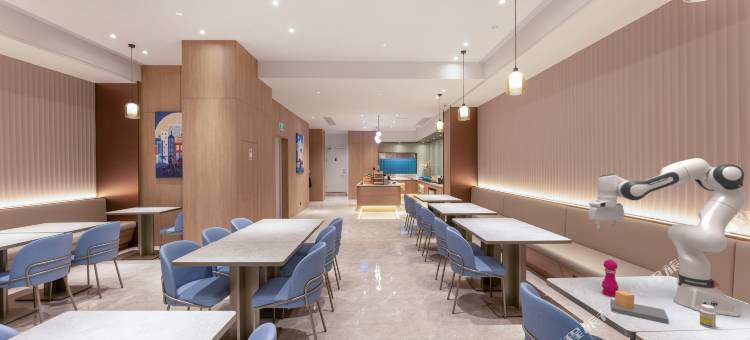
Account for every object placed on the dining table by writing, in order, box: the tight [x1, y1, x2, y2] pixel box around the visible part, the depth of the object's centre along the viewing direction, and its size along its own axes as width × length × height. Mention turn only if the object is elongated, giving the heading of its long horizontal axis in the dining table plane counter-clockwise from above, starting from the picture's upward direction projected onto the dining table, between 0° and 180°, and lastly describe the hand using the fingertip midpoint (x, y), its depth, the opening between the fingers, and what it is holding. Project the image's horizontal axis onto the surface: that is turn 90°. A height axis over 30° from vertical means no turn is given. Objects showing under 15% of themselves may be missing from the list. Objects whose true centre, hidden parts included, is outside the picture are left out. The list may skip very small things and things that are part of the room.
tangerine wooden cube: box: [614, 290, 635, 308], centre depth 153 cm, size 5×5×6 cm
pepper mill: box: [601, 256, 619, 298], centre depth 172 cm, size 7×7×20 cm
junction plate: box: [610, 298, 670, 325], centre depth 151 cm, size 20×12×7 cm, turn 55°
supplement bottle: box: [699, 304, 717, 329], centre depth 139 cm, size 5×5×8 cm
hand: (606, 228), depth 179 cm, fingers open, 8 cm apart
